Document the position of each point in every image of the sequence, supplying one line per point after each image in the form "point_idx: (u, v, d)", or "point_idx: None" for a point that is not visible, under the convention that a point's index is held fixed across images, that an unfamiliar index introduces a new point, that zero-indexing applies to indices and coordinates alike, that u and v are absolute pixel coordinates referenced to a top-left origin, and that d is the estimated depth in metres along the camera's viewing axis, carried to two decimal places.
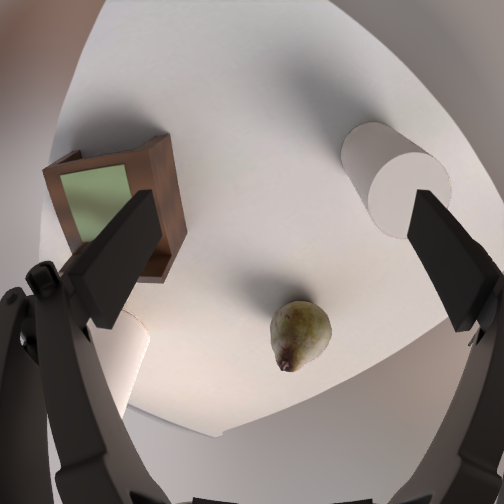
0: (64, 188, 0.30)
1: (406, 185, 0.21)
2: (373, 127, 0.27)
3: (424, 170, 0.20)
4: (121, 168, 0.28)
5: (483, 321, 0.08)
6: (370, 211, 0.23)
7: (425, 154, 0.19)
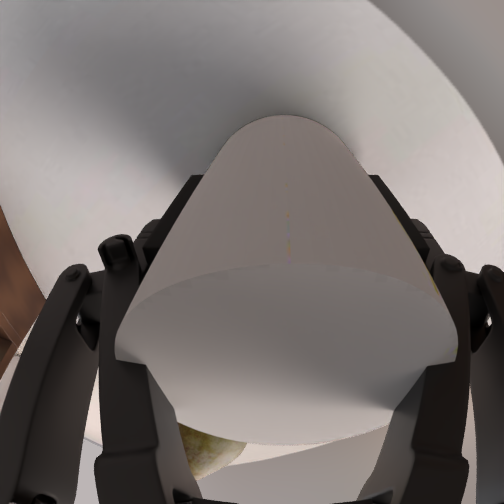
0: None
1: (248, 375, 0.06)
2: (258, 128, 0.12)
3: (335, 334, 0.05)
4: None
5: None
6: None
7: (338, 267, 0.04)
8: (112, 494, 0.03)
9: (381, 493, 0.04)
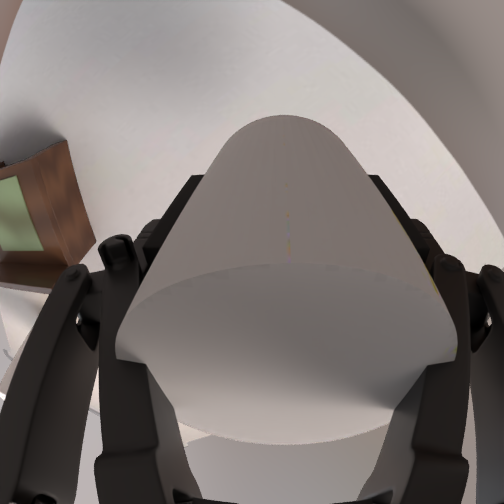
0: None
1: (249, 375, 0.06)
2: (258, 128, 0.12)
3: (335, 334, 0.05)
4: (14, 179, 0.22)
5: None
6: None
7: (337, 267, 0.04)
8: (112, 494, 0.03)
9: (381, 493, 0.04)
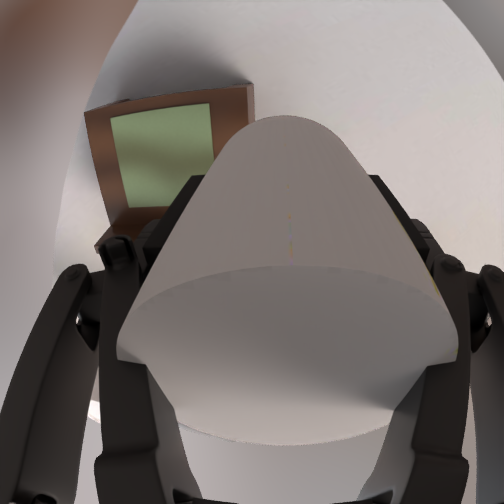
0: (113, 135, 0.24)
1: (250, 376, 0.06)
2: (258, 129, 0.12)
3: (336, 335, 0.05)
4: (205, 108, 0.22)
5: None
6: None
7: (339, 269, 0.04)
8: (112, 494, 0.03)
9: (381, 493, 0.04)
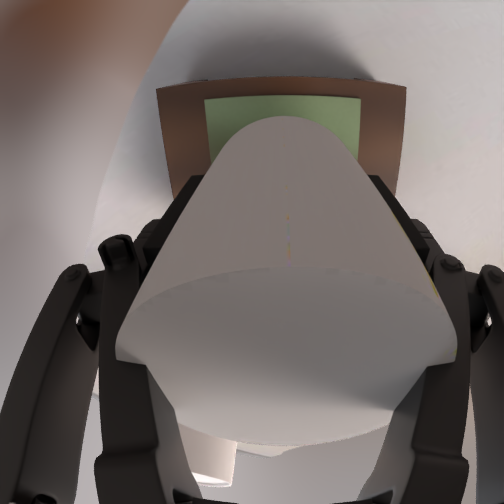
0: (205, 126, 0.17)
1: (249, 376, 0.06)
2: (258, 129, 0.12)
3: (334, 336, 0.05)
4: (355, 104, 0.15)
5: None
6: None
7: (338, 270, 0.04)
8: (112, 494, 0.03)
9: (381, 493, 0.04)
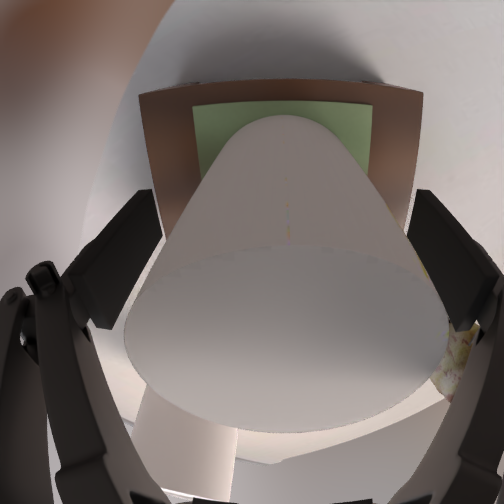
0: (194, 136, 0.15)
1: (251, 356, 0.06)
2: (258, 127, 0.12)
3: (331, 314, 0.05)
4: (366, 111, 0.13)
5: (483, 321, 0.08)
6: (162, 394, 0.08)
7: (332, 249, 0.04)
8: None
9: (417, 497, 0.03)
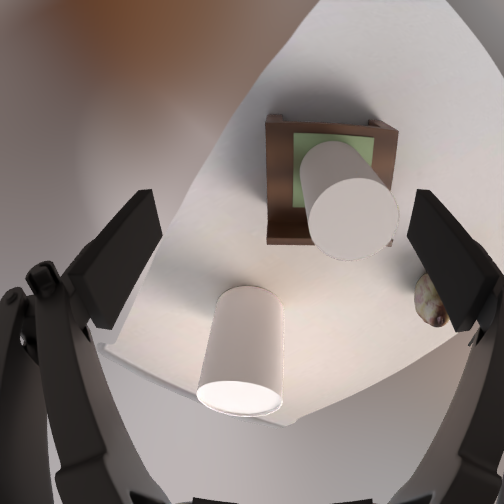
0: (292, 147, 0.32)
1: (347, 210, 0.23)
2: (329, 147, 0.29)
3: (367, 195, 0.22)
4: (371, 140, 0.30)
5: (483, 321, 0.08)
6: (312, 235, 0.25)
7: (367, 179, 0.21)
8: None
9: (417, 497, 0.03)
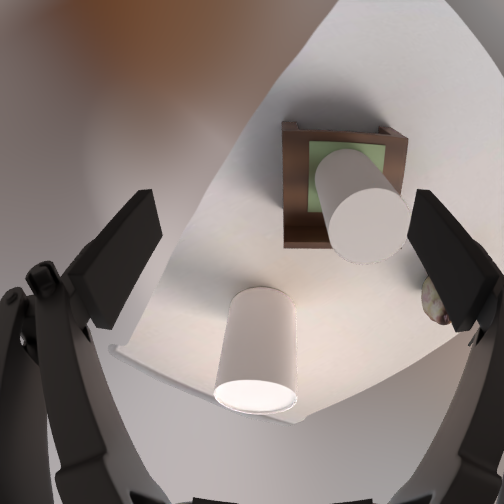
0: (308, 154, 0.34)
1: (365, 217, 0.24)
2: (343, 156, 0.30)
3: (383, 204, 0.23)
4: (382, 148, 0.32)
5: (483, 321, 0.08)
6: (331, 241, 0.26)
7: (383, 189, 0.23)
8: None
9: (417, 497, 0.03)
